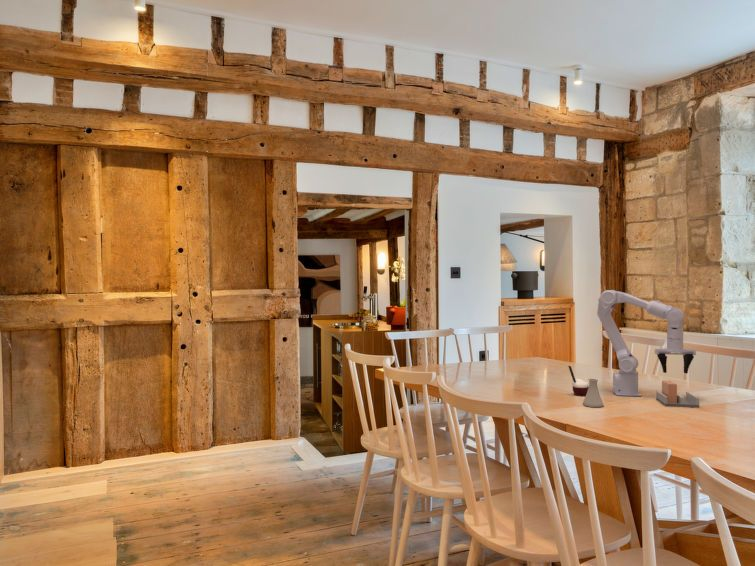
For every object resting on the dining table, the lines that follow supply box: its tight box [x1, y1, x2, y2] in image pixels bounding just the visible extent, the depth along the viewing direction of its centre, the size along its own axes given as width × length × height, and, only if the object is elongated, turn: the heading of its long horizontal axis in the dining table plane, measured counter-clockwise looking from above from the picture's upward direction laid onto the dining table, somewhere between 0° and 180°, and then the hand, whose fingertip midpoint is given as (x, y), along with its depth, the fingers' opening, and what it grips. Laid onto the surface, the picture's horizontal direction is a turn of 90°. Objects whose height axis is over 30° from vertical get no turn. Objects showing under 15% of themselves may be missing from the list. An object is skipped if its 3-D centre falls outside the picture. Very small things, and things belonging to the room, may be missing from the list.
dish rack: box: [655, 390, 700, 409], centre depth 212 cm, size 12×12×4 cm
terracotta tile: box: [661, 380, 678, 403], centre depth 213 cm, size 8×3×7 cm, turn 168°
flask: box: [582, 378, 605, 408], centre depth 209 cm, size 7×7×10 cm
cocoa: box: [568, 365, 589, 397], centre depth 229 cm, size 10×6×12 cm, turn 77°
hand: (675, 372), depth 221 cm, fingers open, 7 cm apart
